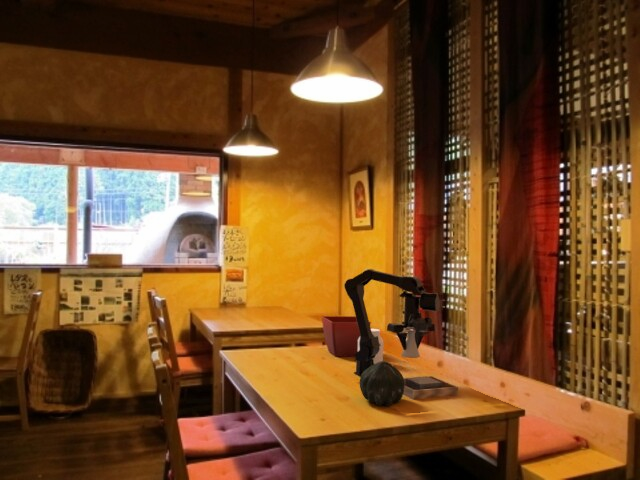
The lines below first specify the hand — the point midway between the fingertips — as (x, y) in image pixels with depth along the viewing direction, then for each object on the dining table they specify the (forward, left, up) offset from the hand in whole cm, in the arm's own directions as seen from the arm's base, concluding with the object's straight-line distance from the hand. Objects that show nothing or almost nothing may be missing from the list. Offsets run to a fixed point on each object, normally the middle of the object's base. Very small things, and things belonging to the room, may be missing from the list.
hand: (410, 349), depth 206 cm
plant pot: (-2, +55, -13) cm, 57 cm away
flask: (0, 0, -3) cm, 3 cm away
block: (-4, -15, -12) cm, 19 cm away
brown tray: (-4, -15, -12) cm, 20 cm away
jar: (0, +33, -13) cm, 36 cm away
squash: (-24, -21, -13) cm, 34 cm away
